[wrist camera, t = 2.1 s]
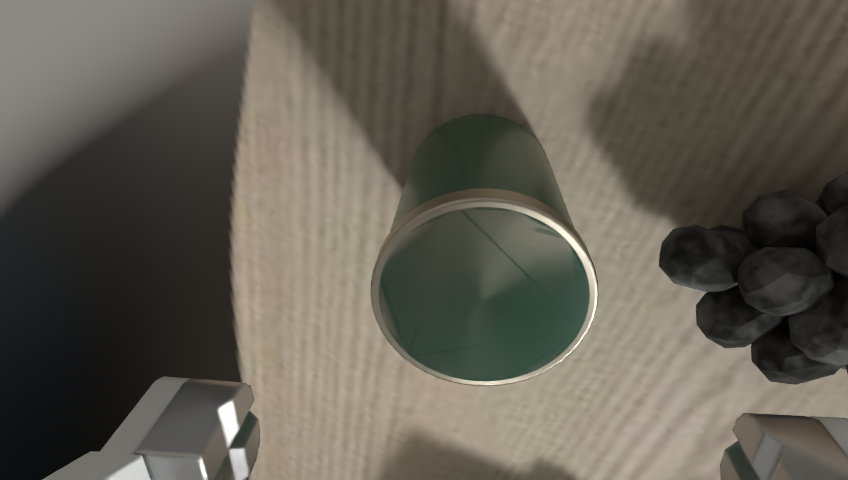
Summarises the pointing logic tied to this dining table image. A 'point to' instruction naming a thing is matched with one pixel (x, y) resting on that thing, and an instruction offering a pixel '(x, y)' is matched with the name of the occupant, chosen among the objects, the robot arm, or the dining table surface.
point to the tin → (483, 259)
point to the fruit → (773, 282)
